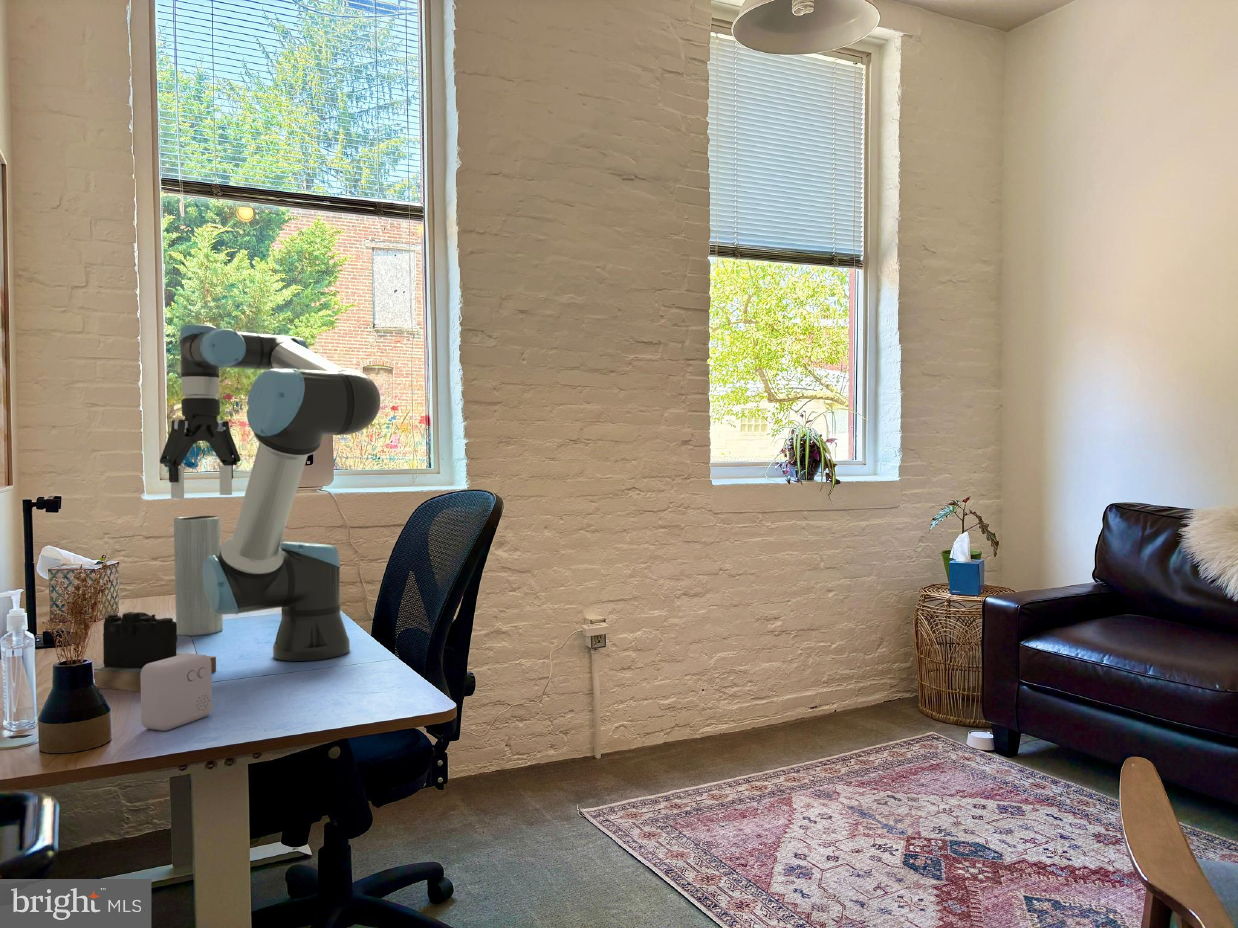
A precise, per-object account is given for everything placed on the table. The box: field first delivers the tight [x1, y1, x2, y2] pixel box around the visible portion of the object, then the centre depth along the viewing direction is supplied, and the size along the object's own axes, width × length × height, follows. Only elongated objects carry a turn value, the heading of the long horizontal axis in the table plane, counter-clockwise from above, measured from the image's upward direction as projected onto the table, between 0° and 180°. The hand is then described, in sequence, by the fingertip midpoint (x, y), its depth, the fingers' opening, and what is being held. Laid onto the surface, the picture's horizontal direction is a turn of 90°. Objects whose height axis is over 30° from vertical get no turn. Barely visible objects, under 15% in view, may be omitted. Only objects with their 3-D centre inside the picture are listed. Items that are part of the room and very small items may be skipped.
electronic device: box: [140, 652, 213, 732], centre depth 141 cm, size 10×5×10 cm, turn 158°
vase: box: [173, 515, 224, 637], centre depth 212 cm, size 10×10×27 cm
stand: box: [93, 652, 217, 693], centre depth 169 cm, size 16×16×3 cm
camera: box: [102, 611, 178, 669], centre depth 169 cm, size 14×11×10 cm
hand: (202, 496), depth 194 cm, fingers open, 13 cm apart
